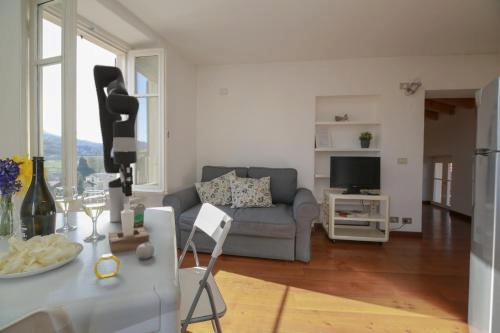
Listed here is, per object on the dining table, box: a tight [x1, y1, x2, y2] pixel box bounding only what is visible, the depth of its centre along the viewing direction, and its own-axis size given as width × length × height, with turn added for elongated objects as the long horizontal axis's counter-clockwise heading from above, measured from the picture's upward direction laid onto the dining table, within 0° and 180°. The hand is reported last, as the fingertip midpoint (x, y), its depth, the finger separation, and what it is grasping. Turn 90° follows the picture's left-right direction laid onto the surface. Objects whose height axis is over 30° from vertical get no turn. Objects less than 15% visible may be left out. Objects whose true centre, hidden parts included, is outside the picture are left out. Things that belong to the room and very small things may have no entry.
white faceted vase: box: [121, 203, 134, 237], centre depth 90 cm, size 5×4×15 cm
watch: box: [93, 253, 121, 279], centre depth 66 cm, size 6×3×6 cm, turn 112°
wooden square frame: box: [108, 226, 150, 254], centre depth 90 cm, size 12×12×4 cm
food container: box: [122, 203, 146, 228], centre depth 110 cm, size 12×6×10 cm, turn 168°
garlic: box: [135, 241, 155, 260], centre depth 78 cm, size 6×5×5 cm
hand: (127, 194), depth 89 cm, fingers open, 8 cm apart
